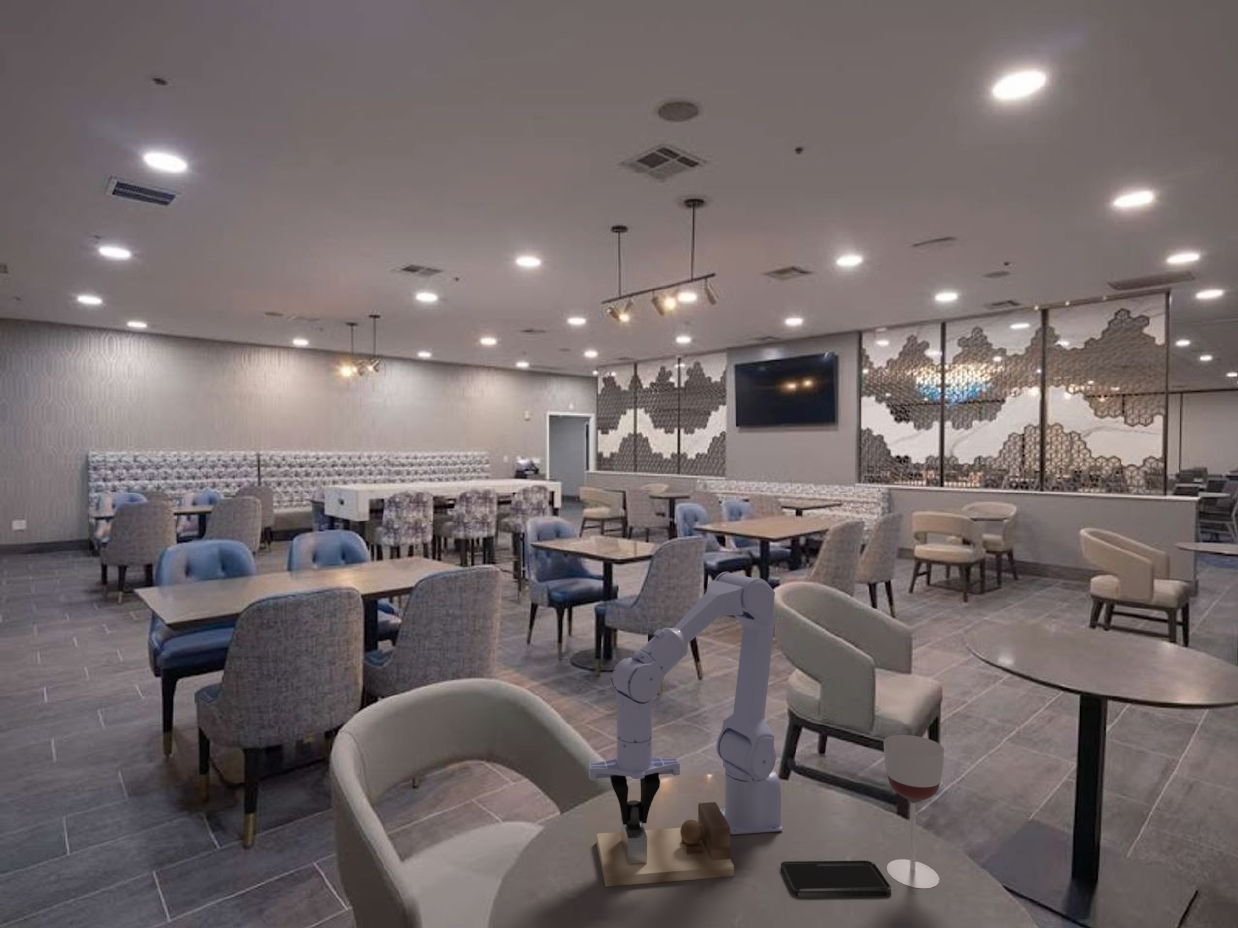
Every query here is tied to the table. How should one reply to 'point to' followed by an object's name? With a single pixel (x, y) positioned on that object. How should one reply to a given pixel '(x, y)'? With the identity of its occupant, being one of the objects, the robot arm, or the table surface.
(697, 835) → the walnut
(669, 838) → the base
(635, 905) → the table surface
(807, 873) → the phone
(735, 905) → the table surface
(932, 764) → the wineglass
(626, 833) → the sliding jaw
